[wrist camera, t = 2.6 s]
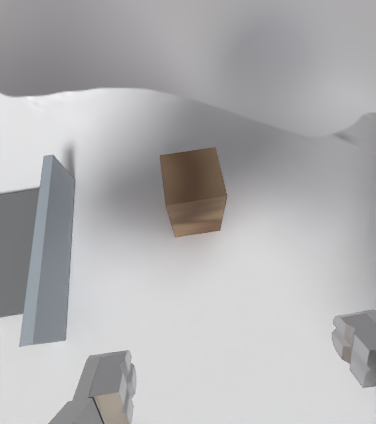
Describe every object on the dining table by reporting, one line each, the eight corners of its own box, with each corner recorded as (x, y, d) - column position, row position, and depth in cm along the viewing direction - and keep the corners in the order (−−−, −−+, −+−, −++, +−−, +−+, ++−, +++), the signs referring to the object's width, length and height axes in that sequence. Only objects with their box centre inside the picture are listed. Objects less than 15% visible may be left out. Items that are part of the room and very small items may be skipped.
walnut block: (211, 191, 29) (215, 147, 22) (219, 230, 27) (227, 196, 20) (170, 197, 29) (159, 155, 22) (175, 237, 27) (165, 205, 20)
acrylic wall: (75, 179, 30) (53, 154, 26) (65, 340, 23) (32, 344, 18) (67, 181, 30) (43, 156, 26) (54, 342, 23) (19, 346, 18)
